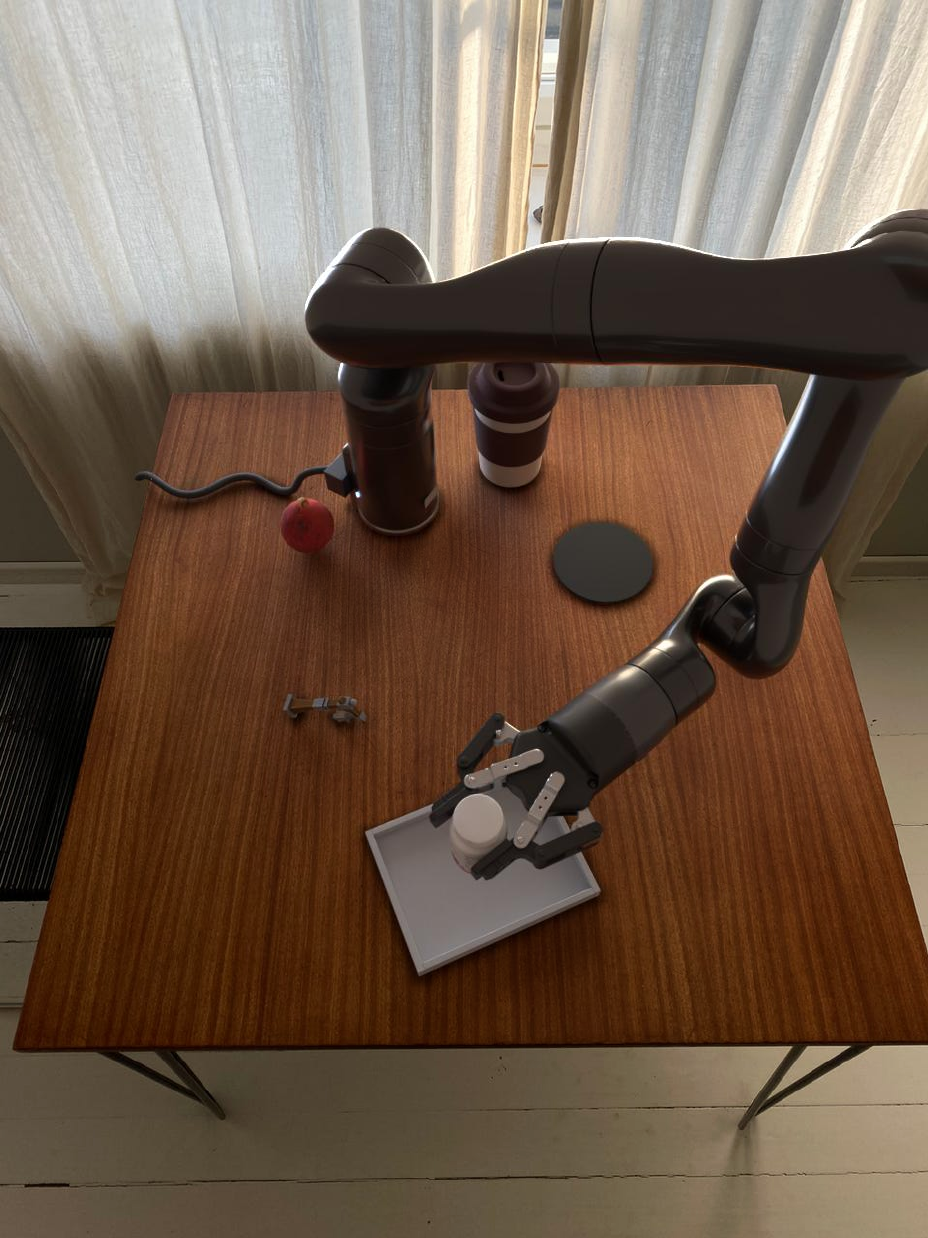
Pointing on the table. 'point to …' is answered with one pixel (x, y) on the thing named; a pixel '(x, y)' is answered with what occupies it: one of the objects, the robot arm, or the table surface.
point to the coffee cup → (512, 418)
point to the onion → (307, 525)
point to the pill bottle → (476, 830)
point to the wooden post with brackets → (326, 707)
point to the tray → (470, 886)
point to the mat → (603, 562)
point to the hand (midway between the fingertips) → (453, 847)
